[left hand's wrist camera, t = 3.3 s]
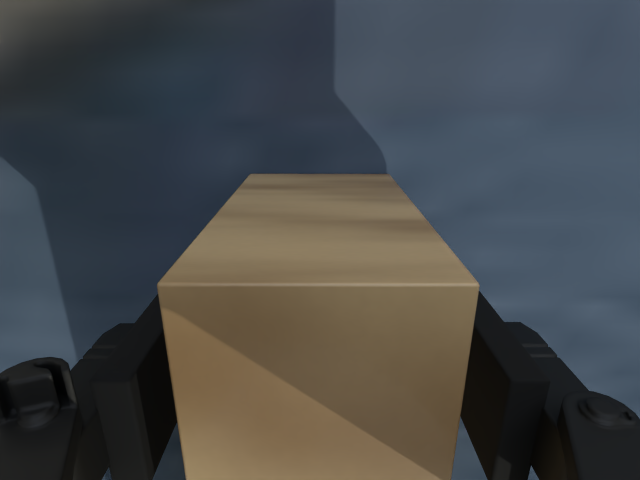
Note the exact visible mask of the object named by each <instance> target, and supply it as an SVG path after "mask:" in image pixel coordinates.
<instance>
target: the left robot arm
mask: <svg viewBox="0 0 640 480" xmlns="http://www.w3.org/2000/svg"><path fill="white" fill-rule="evenodd" d="M460 416H461V419H462V421H463V423H464V426H465V428H466V430H467V432H468V435H469V437H470V439H471V442H472V444H473V446H474V449H475V451H476V453H477V456H478V458H479V460H480V463H481V465H482V467H483V470H484V472H485V474H486V477H487V479H488V480H528V475H529V471H530V467H531V466H532V467H533V469H534V471H535V473H536V475H537V476H538V478H539V480H640V419H639V418H638V416H637V415H636V414H635V413H634V412H633V411H632V410H631V409H629V408H628V407H627V406H625V405H624V404H623V403H621V402H619V401H617V400H615V399H613V398H611V397H609V396H606V395H603V394H600V393H597V392H593V391H589V390H588V389H587V388H586V387H585V386H584V385H583V384H582V383H581V381H580V380H579V379H578V378H577V377H576V376H575V375H574V374H573V372H572V371H571V370H570V369H569V368H568V367H567V366H566V365H565V363H564V362H563V361H562V360H561V359H560V358H557V355H556V353H555V352H554V351H553V350H552V349H551V348H550V347H548V344H547V343H546V342H545V341H544V340H543V339H542V338H541V337H540V335H539V334H538V333H537V332H535V331H534V330H532V329H530V328H529V327H527V326H525V325H524V324H522V323H521V322H504V321H503V320H502V319H501V318H500V316H499V315H498V314H497V313H496V311H495V310H494V309H493V308H492V306H491V305H490V304H489V303H488V301H487V300H486V299H485V297H484V296H483V295H482V294H481V292H480V291H479V293H478V299H477V306H476V313H475V320H474V326H473V333H472V340H471V347H470V353H469V360H468V367H467V374H466V380H465V387H464V394H463V401H462V407H461V414H460ZM176 423H177V416H176V409H175V403H174V396H173V389H172V383H171V376H170V369H169V363H168V356H167V349H166V343H165V336H164V329H163V323H162V316H161V309H160V303H159V296H158V295H157V296H156V297H155V298H154V300H153V301H152V302H151V303H150V305H149V306H148V307H147V309H146V310H145V311H144V312H143V314H142V315H141V316H140V317H139V319H138V320H137V321H136V322H135V323H131V324H118V325H117V326H115V327H113V328H112V329H110V330H109V331H107V332H105V333H104V334H103V335H102V336H101V337H100V338H99V339H98V340H97V341H96V343H95V344H94V345H93V346H92V349H89V350H88V352H87V353H86V354H85V355H84V356H83V359H80V361H79V362H78V363H77V364H76V365H75V366H74V367H73V368H72V370H71V371H70V368H69V364H68V363H67V362H66V361H64V360H63V359H61V358H54V357H46V358H36V359H33V360H29V361H26V362H22V363H19V364H17V365H15V366H13V367H11V368H8V369H6V370H5V371H3V372H2V373H0V480H102V478H103V476H104V474H105V473H106V471H107V469H108V467H109V468H110V473H111V477H112V480H152V478H153V476H154V474H155V471H156V469H157V467H158V464H159V462H160V460H161V457H162V455H163V453H164V450H165V448H166V446H167V444H168V441H169V439H170V437H171V434H172V432H173V430H174V427H175V425H176Z"/></svg>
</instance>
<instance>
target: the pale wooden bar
mask: <svg viewBox="0 0 640 480" xmlns="http://www.w3.org/2000/svg"><path fill="white" fill-rule="evenodd" d="M157 289H158V296H159V303H160V309H161V316H162V323H163V329H164V336H165V343H166V349H167V356H168V363H169V369H170V376H171V383H172V389H173V396H174V403H175V409H176V416H177V423H178V429H179V436H180V443H181V449H182V456H183V463H184V469H185V476H186V480H451V475H452V468H453V461H454V455H455V448H456V441H457V434H458V428H459V421H460V414H461V407H462V401H463V394H464V387H465V380H466V374H467V367H468V360H469V353H470V347H471V340H472V333H473V326H474V320H475V313H476V306H477V299H478V293H479V283H478V282H477V281H476V279H475V278H474V277H473V276H472V275H471V273H470V272H469V271H468V270H467V268H466V267H465V266H464V265H463V264H462V262H461V261H460V260H459V259H458V257H457V256H456V255H455V254H454V253H453V251H452V250H451V249H450V248H449V247H448V245H447V244H446V243H445V242H444V240H443V239H442V238H441V237H440V236H439V234H438V233H437V232H436V231H435V229H434V228H433V227H432V226H431V225H430V223H429V222H428V221H427V220H426V218H425V217H424V216H423V215H422V214H421V212H420V211H419V210H418V209H417V207H416V206H415V205H414V204H413V203H412V201H411V200H410V199H409V198H408V197H407V195H406V194H405V193H404V192H403V190H402V189H401V188H400V187H399V186H398V184H397V183H396V182H395V181H394V179H393V178H392V177H391V176H390V175H389V174H250V175H249V176H248V177H247V178H246V179H245V181H244V182H243V183H242V184H241V185H240V186H239V188H238V189H237V190H236V191H235V192H234V194H233V195H232V196H231V197H230V198H229V199H228V201H227V202H226V203H225V204H224V205H223V207H222V208H221V209H220V210H219V211H218V212H217V214H216V215H215V216H214V217H213V218H212V219H211V221H210V222H209V223H208V224H207V225H206V227H205V228H204V229H203V230H202V231H201V232H200V234H199V235H198V236H197V237H196V238H195V240H194V241H193V242H192V243H191V244H190V245H189V247H188V248H187V249H186V250H185V251H184V253H183V254H182V255H181V256H180V257H179V258H178V260H177V261H176V262H175V263H174V264H173V266H172V267H171V268H170V269H169V270H168V271H167V273H166V274H165V275H164V276H163V277H162V278H161V280H160V281H159V282H158V284H157Z"/></svg>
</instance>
